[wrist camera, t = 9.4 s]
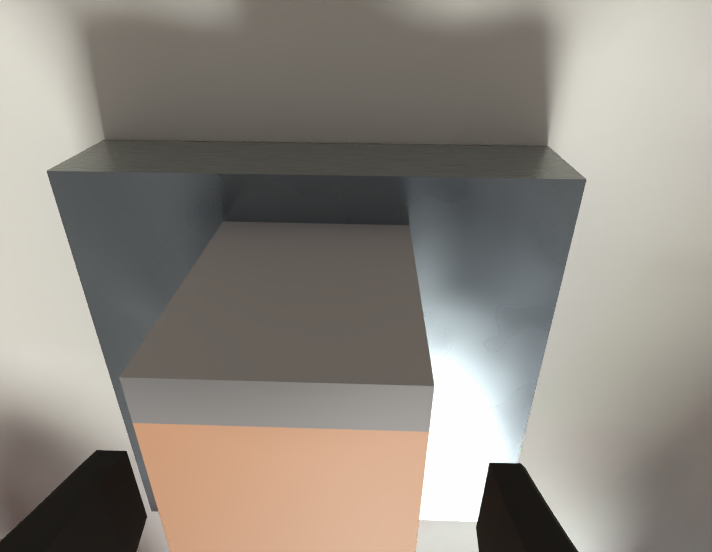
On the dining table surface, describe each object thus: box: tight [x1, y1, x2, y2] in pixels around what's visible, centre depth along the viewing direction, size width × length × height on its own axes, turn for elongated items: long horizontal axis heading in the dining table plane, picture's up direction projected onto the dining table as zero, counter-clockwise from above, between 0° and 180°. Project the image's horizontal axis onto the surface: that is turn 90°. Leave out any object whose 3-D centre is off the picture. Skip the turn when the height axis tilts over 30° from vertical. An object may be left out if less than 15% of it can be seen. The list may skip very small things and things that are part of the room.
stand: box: [47, 140, 586, 521], centre depth 14 cm, size 11×11×2 cm
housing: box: [119, 221, 435, 552], centre depth 11 cm, size 9×4×5 cm, turn 0°
